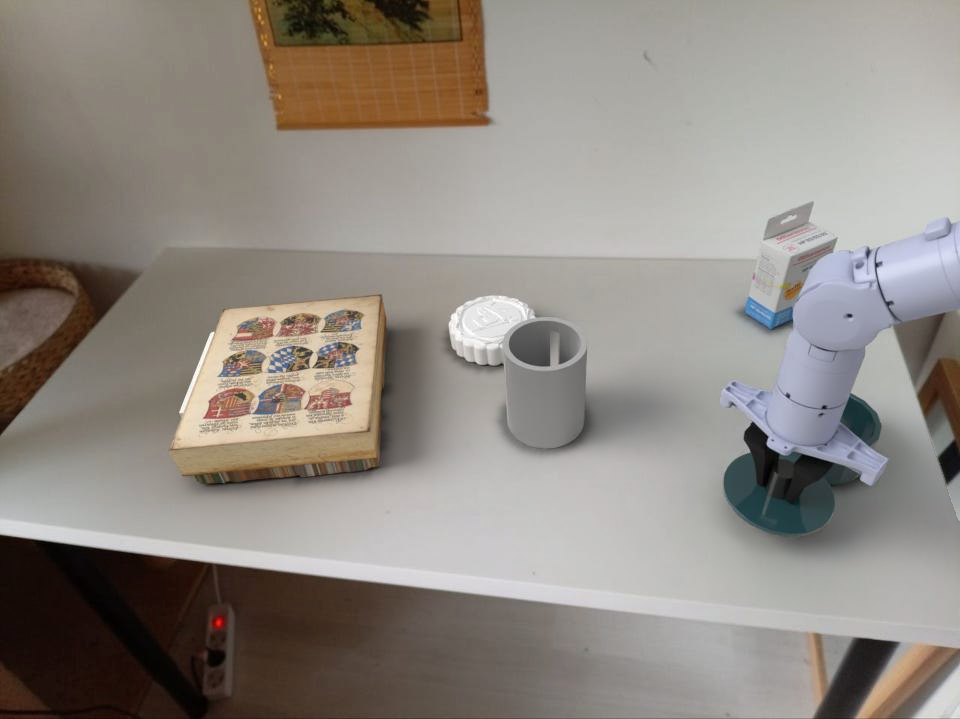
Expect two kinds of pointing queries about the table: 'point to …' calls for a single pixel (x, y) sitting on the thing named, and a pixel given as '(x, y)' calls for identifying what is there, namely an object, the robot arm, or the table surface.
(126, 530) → the table surface
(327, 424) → the book
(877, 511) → the table surface
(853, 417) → the tin
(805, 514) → the tin lid
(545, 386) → the cup
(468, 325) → the mooncake
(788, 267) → the ink box
